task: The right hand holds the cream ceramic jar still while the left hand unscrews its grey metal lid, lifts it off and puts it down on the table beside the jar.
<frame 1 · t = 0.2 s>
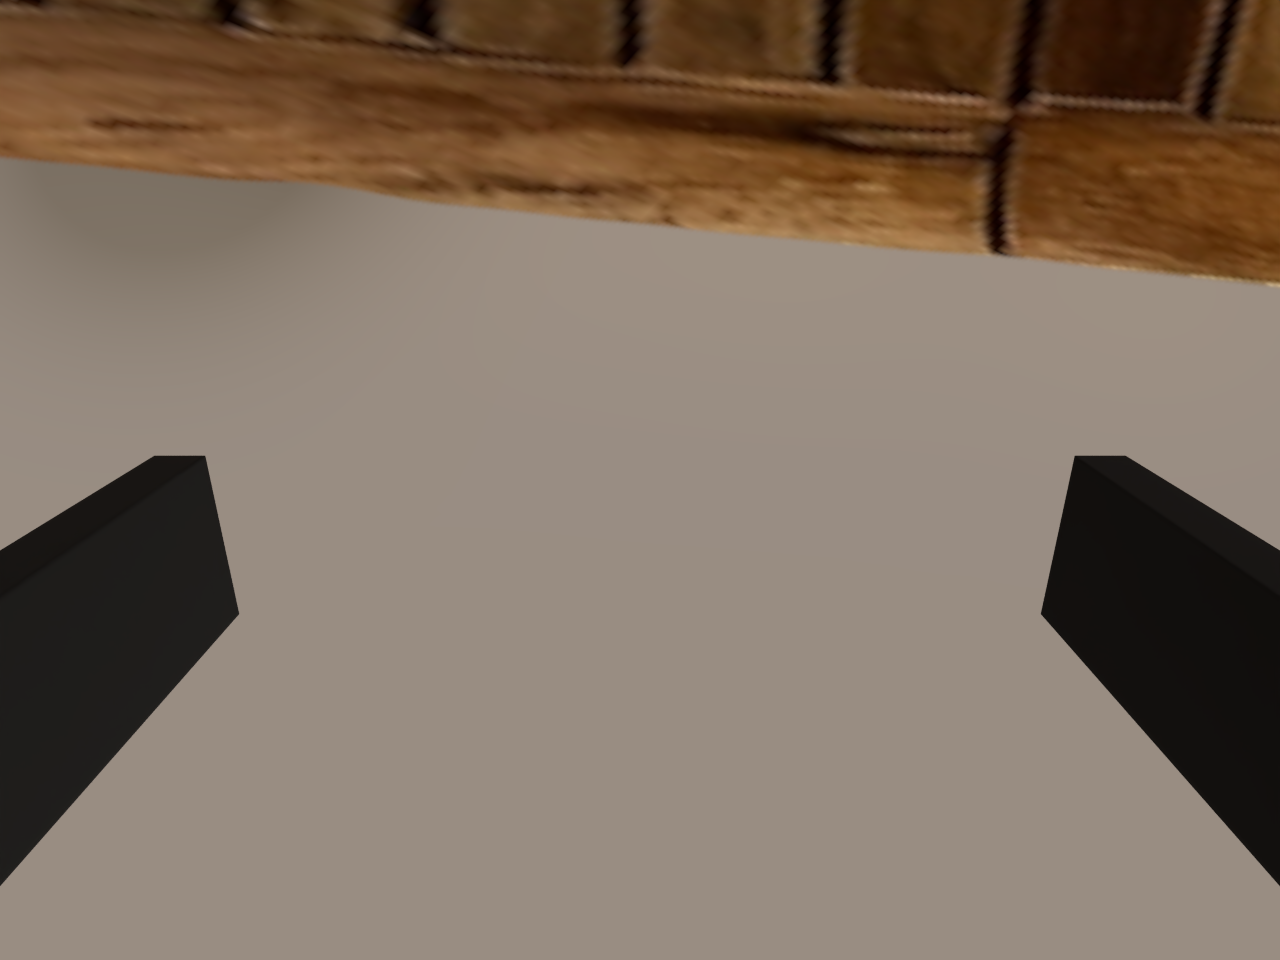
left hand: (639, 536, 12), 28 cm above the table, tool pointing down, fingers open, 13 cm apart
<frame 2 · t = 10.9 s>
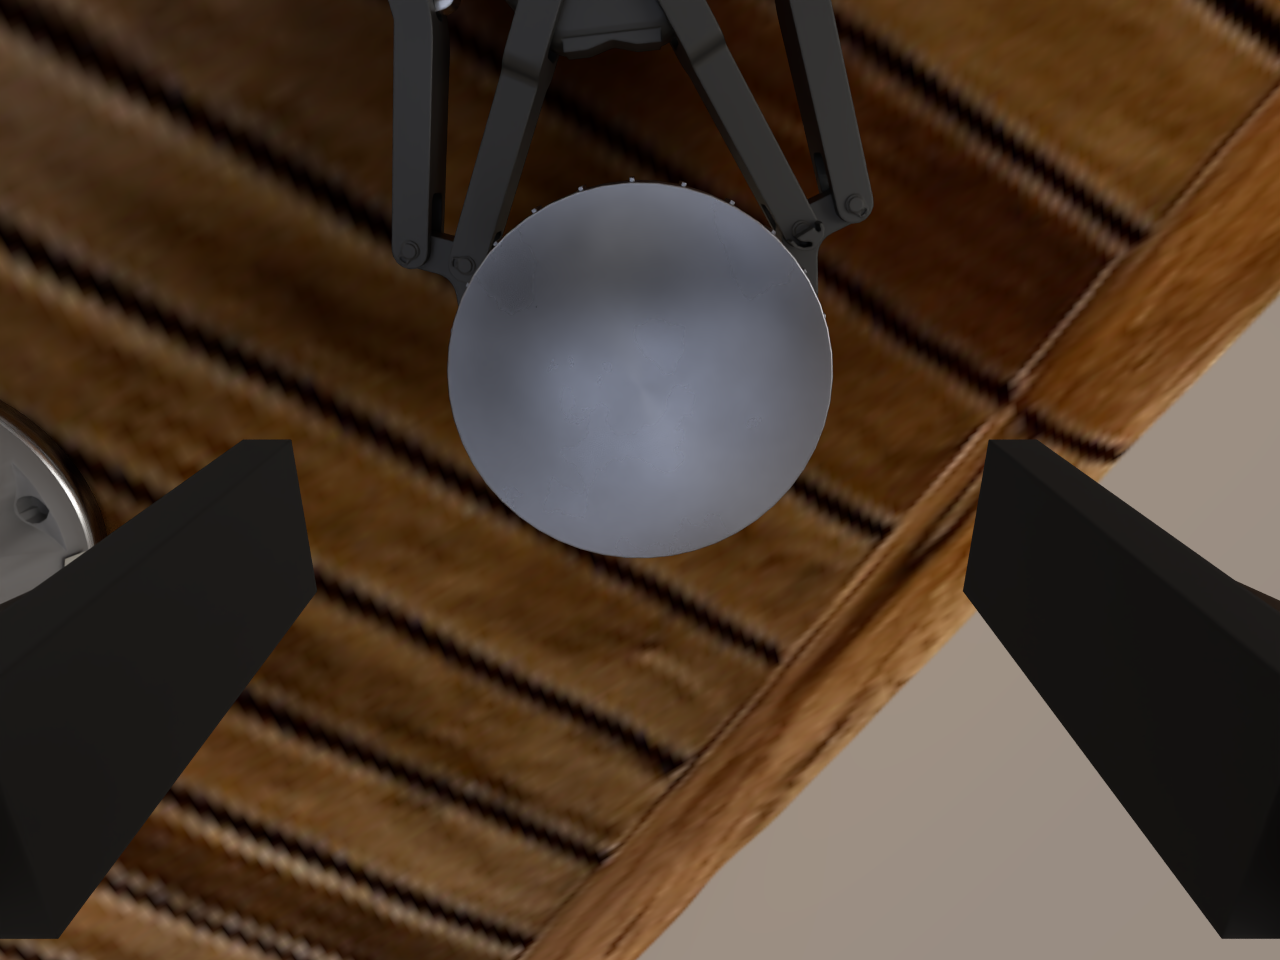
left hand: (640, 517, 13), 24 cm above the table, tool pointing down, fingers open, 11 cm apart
lid: (640, 383, 21), point 16 cm above the table, screwed on, not yet turned
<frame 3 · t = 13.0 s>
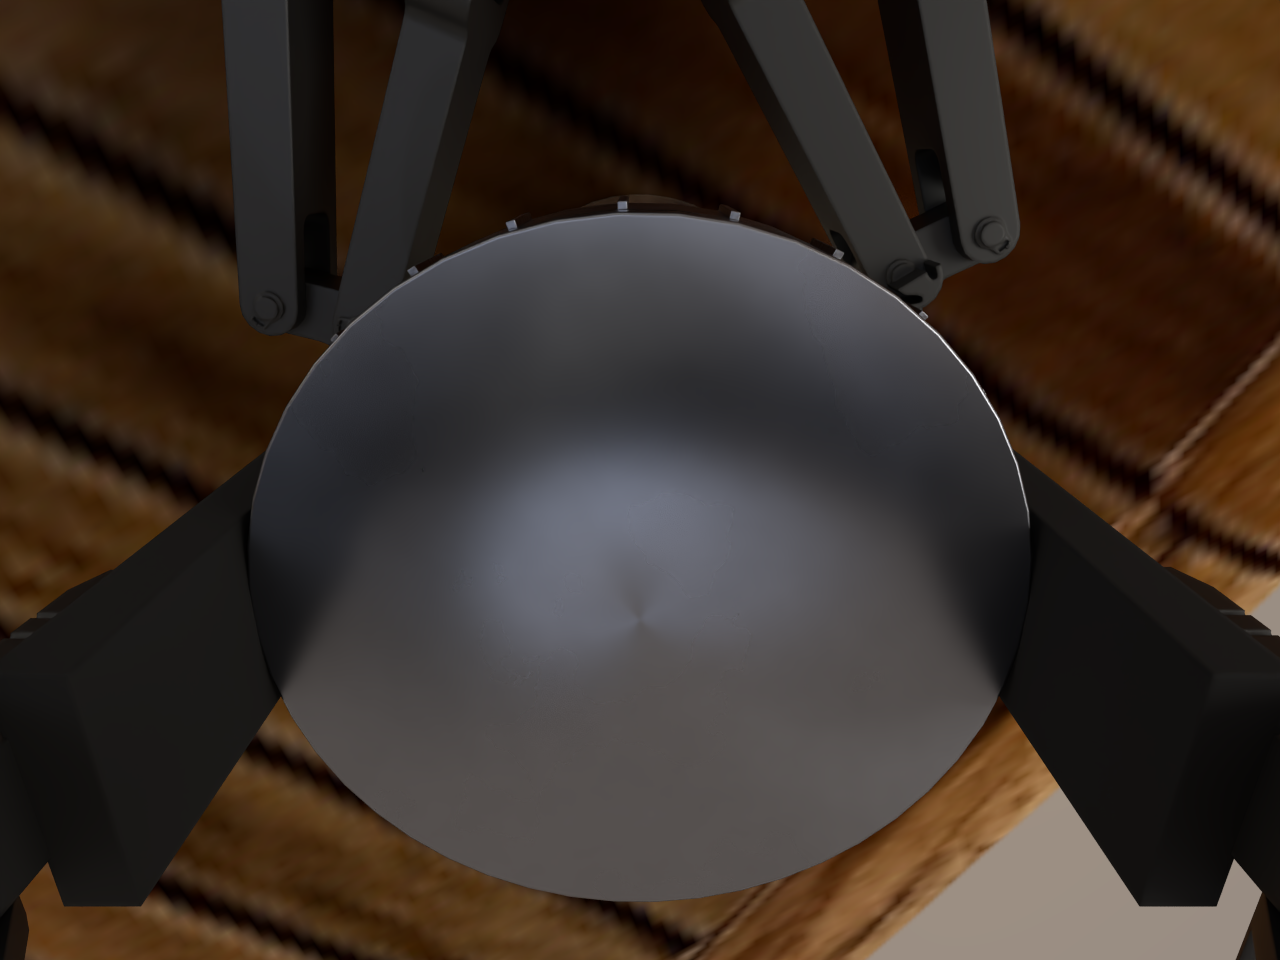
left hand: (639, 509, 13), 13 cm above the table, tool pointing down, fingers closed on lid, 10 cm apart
lid: (639, 605, 11), point 16 cm above the table, screwed on, not yet turned, touching left hand
jar: (639, 345, 25), on the table, touching right hand
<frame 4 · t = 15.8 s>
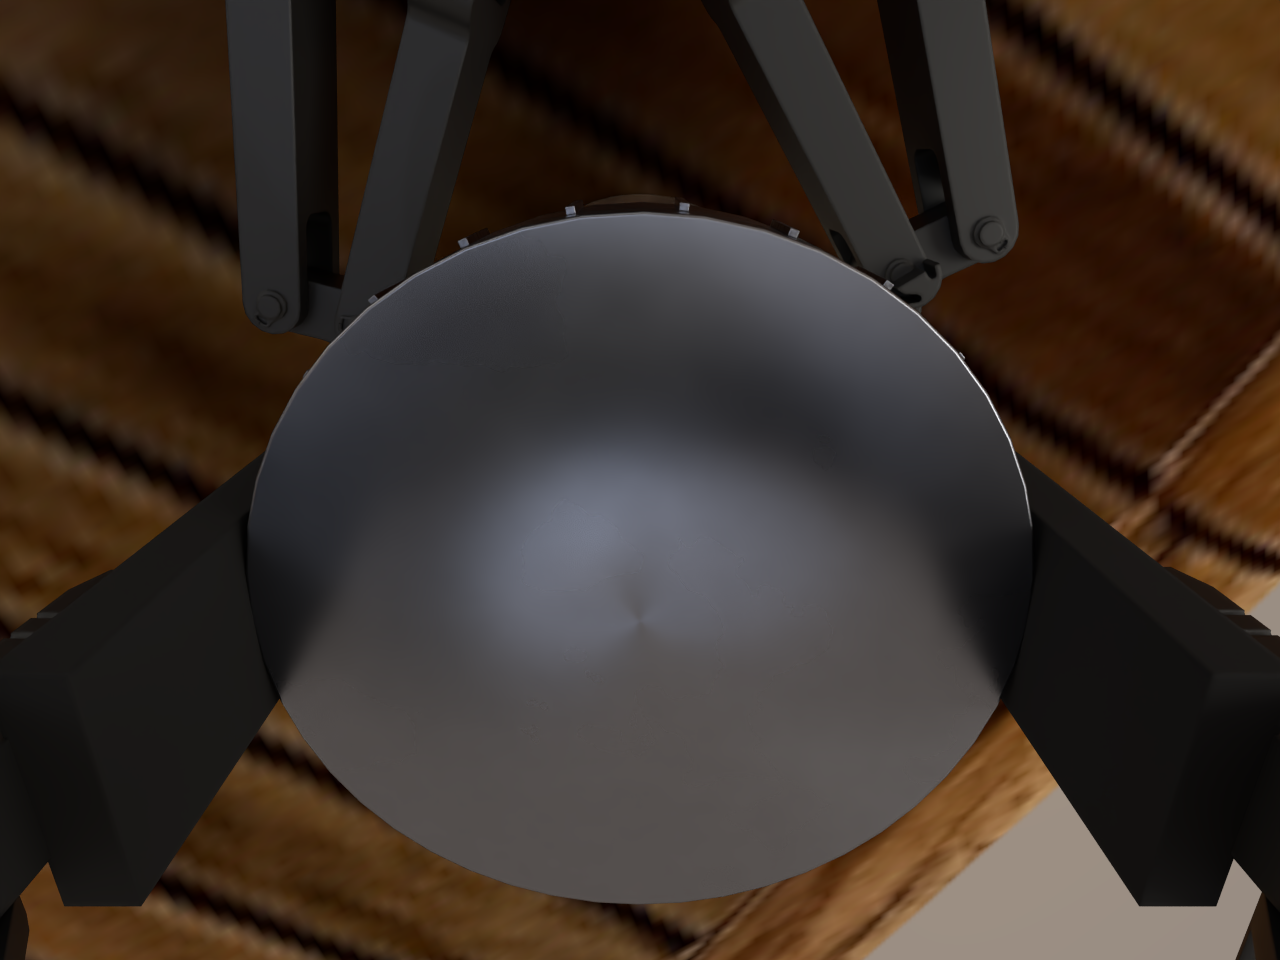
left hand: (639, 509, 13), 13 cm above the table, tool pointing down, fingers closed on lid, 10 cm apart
lid: (640, 606, 10), point 16 cm above the table, turned 64° so far, risen 0.1 cm, still on its thread, touching left hand
jar: (640, 344, 25), on the table, touching right hand
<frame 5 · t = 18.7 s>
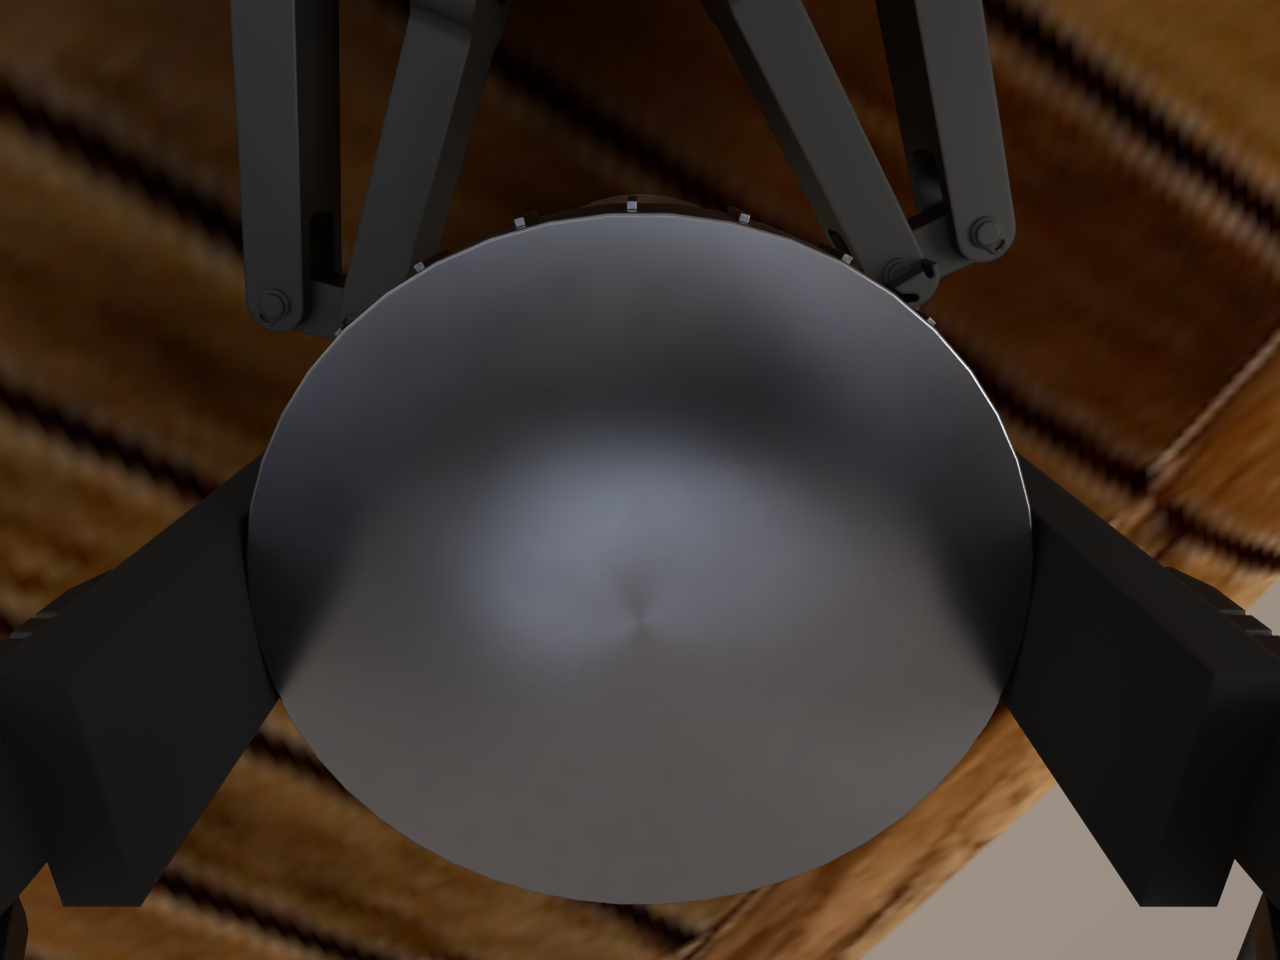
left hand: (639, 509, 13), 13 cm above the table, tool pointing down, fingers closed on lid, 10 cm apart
lid: (640, 607, 10), point 16 cm above the table, turned 129° so far, risen 0.3 cm, still on its thread, touching left hand
jar: (640, 343, 25), on the table, touching right hand
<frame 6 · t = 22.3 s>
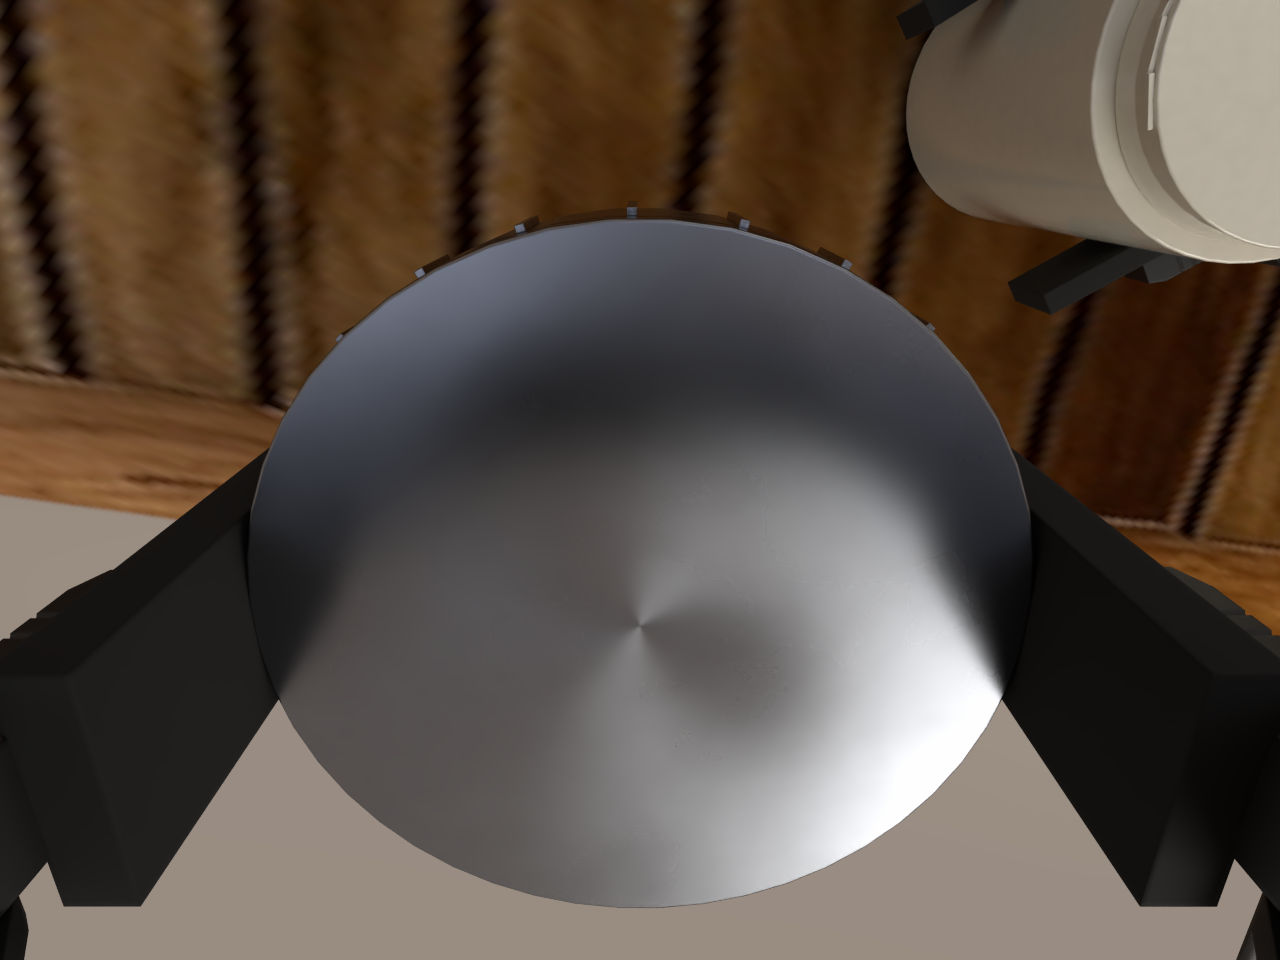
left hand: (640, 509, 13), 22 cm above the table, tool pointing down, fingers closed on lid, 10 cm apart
lid: (640, 611, 10), point 25 cm above the table, off its thread, touching left hand
jar: (1021, 100, 31), on the table, touching right hand
when the left hand's fingers open (0 cm above the table, at t = 26.0 s): lid drops 2 cm, point 2 cm above the table.
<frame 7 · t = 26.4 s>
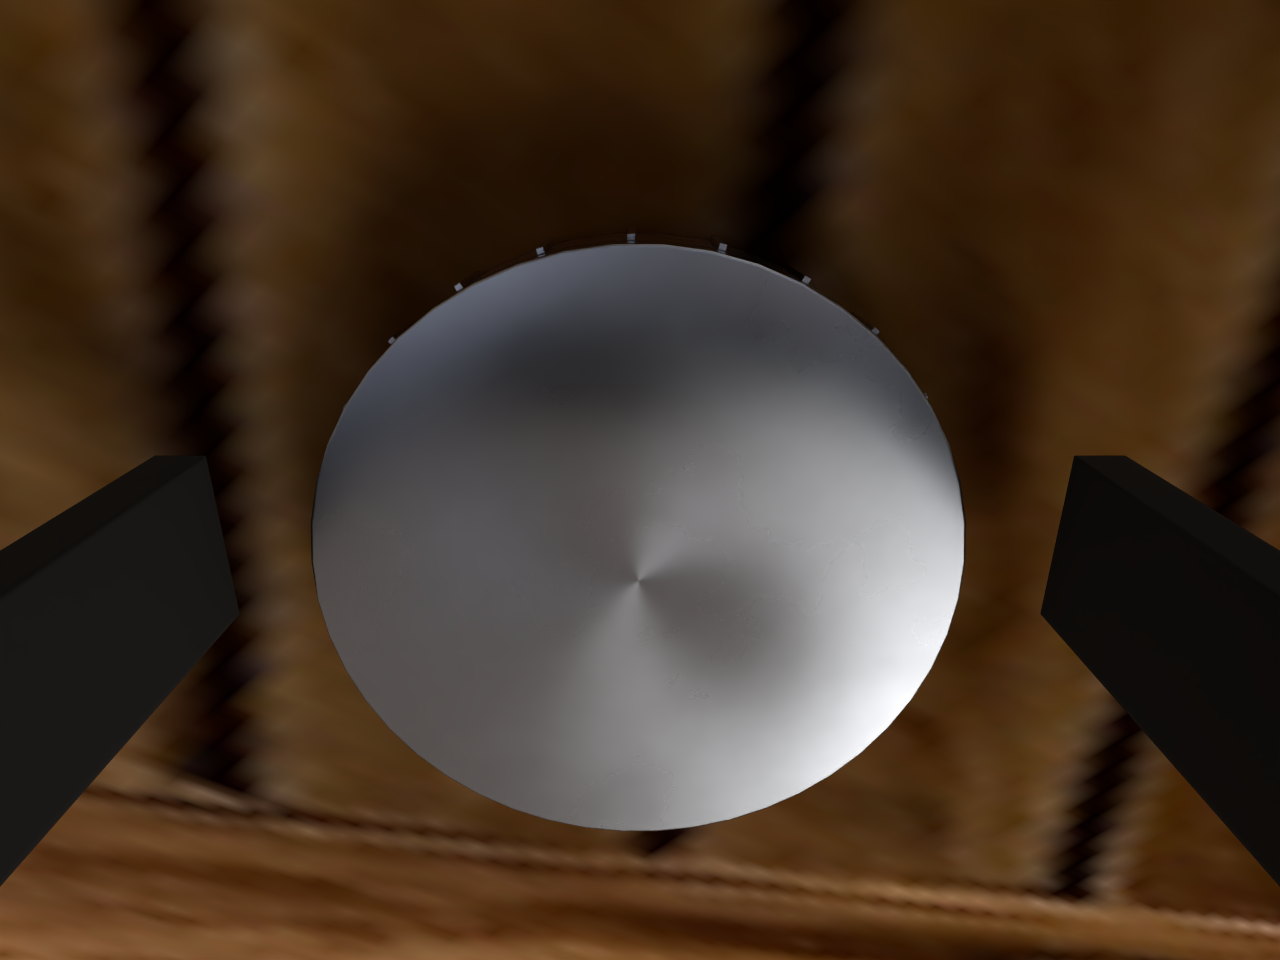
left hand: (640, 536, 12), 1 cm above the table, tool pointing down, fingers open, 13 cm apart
lid: (638, 570, 12), point 2 cm above the table, off its thread
when the right hand's fingers open (6 cm above the table, at t = 27.0 s): jar stays where it is, on the table.
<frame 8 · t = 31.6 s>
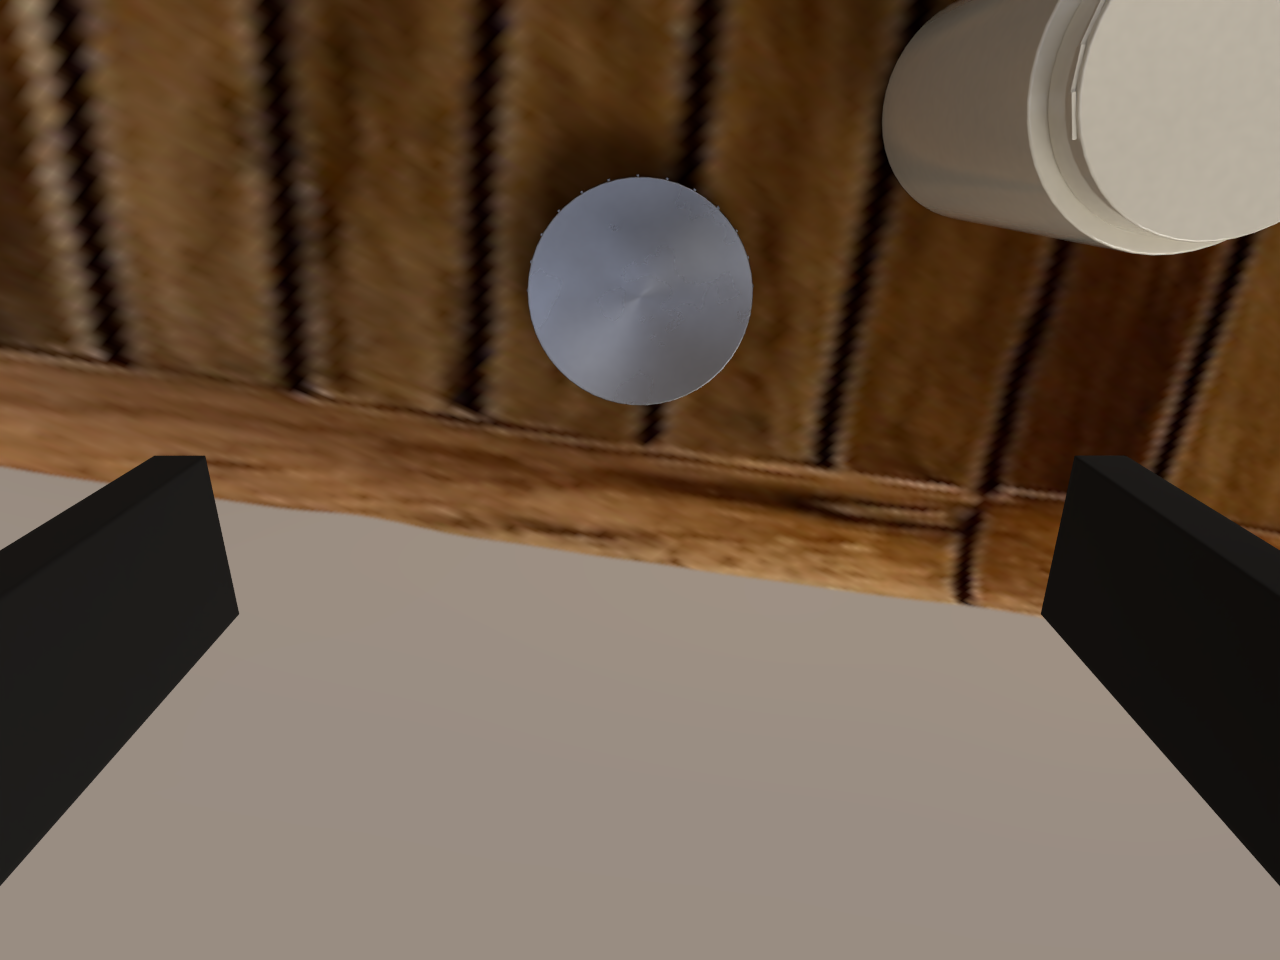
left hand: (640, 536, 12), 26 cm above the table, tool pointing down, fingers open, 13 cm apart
lid: (640, 295, 35), point 2 cm above the table, off its thread
jar: (987, 110, 34), on the table
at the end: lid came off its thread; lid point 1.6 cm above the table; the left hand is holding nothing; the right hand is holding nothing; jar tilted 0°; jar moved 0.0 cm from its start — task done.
